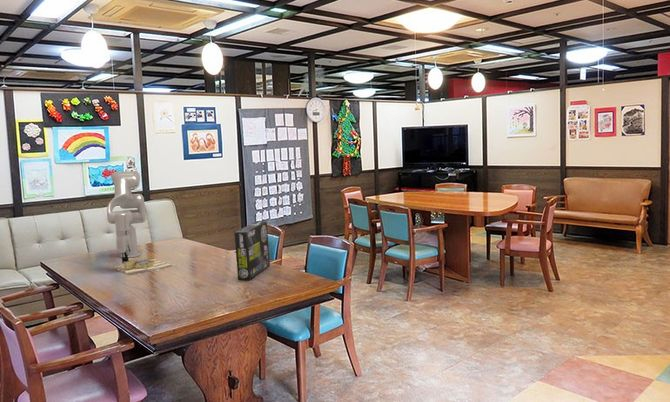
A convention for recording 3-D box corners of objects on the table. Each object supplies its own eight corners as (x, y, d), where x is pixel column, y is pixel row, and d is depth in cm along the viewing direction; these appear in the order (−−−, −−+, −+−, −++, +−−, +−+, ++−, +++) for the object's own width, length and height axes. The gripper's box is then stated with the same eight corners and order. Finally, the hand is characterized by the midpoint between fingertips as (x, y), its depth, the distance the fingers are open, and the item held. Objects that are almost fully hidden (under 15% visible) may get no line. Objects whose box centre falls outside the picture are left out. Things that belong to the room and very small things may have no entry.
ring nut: (117, 268, 316) (117, 260, 316) (143, 261, 332) (143, 254, 332) (133, 270, 309) (132, 262, 309) (159, 263, 325) (158, 256, 325)
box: (250, 280, 280) (247, 231, 278) (237, 280, 282) (233, 231, 279) (270, 266, 313) (267, 221, 310) (258, 265, 315) (255, 221, 312)
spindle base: (113, 268, 324) (112, 262, 324) (154, 260, 341) (154, 255, 341) (128, 275, 305) (128, 268, 304) (171, 266, 322) (171, 260, 321)
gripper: (111, 233, 316) (114, 263, 319) (122, 235, 306) (125, 266, 308) (123, 231, 322) (126, 260, 324) (134, 233, 312) (137, 263, 314)
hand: (125, 263), depth 316 cm, fingers closed
